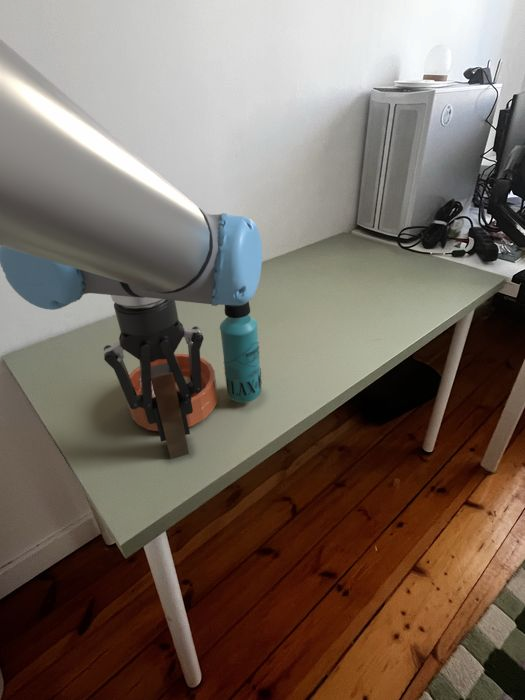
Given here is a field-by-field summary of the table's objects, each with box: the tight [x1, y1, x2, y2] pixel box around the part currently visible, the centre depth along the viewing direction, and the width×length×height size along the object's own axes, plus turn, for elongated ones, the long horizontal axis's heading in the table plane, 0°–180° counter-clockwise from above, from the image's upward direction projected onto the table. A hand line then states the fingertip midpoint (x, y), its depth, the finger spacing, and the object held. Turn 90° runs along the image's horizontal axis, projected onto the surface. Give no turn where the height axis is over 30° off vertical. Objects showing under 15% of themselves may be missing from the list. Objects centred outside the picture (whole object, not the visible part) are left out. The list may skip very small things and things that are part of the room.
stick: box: [151, 363, 190, 460], centre depth 65 cm, size 3×3×16 cm
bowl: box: [125, 353, 219, 432], centre depth 77 cm, size 16×16×6 cm
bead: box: [175, 376, 191, 391], centre depth 79 cm, size 3×3×3 cm
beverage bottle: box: [219, 301, 263, 403], centre depth 74 cm, size 6×7×20 cm
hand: (174, 431), depth 67 cm, fingers closed on stick, 3 cm apart
